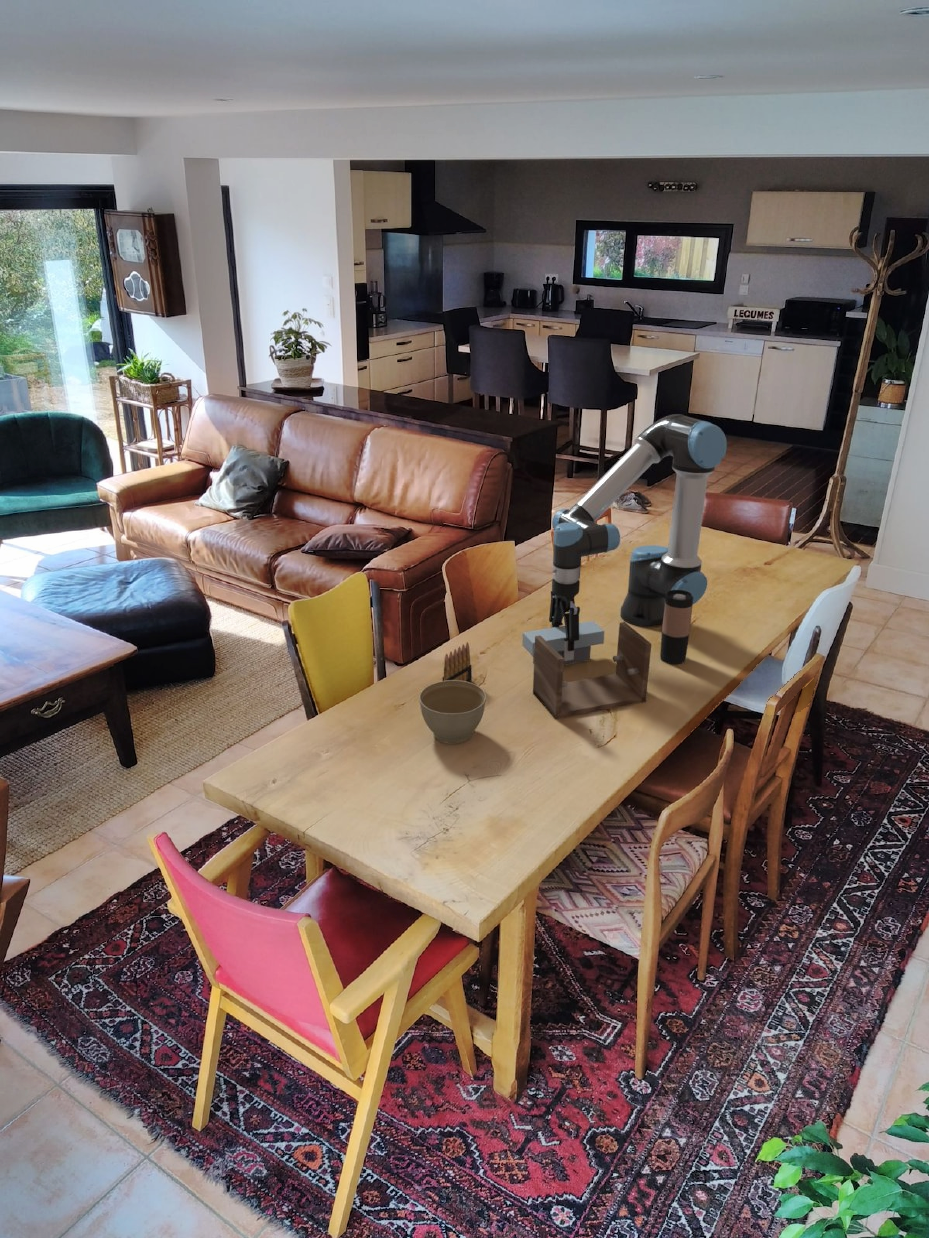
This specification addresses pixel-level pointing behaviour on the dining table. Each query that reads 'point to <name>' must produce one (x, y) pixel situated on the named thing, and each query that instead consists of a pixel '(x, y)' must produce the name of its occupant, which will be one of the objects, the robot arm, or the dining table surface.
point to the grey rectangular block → (577, 655)
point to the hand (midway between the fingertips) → (562, 653)
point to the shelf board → (556, 636)
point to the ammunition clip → (458, 665)
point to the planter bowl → (452, 709)
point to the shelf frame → (593, 691)
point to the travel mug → (676, 626)
